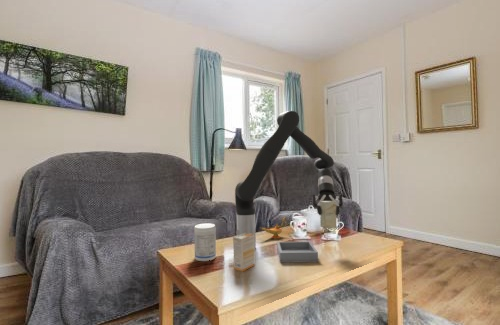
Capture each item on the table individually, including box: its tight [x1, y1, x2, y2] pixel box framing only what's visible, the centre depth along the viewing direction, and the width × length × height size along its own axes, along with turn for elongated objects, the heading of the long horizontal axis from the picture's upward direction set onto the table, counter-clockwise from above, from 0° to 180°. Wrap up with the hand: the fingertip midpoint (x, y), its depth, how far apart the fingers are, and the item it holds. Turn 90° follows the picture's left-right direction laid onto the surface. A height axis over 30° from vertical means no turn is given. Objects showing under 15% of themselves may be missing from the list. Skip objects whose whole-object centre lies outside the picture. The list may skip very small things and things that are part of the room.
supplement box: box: [232, 233, 256, 272], centre depth 110 cm, size 8×5×13 cm, turn 141°
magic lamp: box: [258, 216, 287, 239], centre depth 153 cm, size 7×18×11 cm, turn 117°
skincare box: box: [319, 200, 337, 229], centre depth 126 cm, size 6×4×12 cm
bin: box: [276, 240, 319, 263], centre depth 122 cm, size 16×16×4 cm
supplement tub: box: [193, 222, 217, 262], centre depth 121 cm, size 10×10×15 cm
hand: (328, 214), depth 124 cm, fingers closed on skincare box, 7 cm apart
